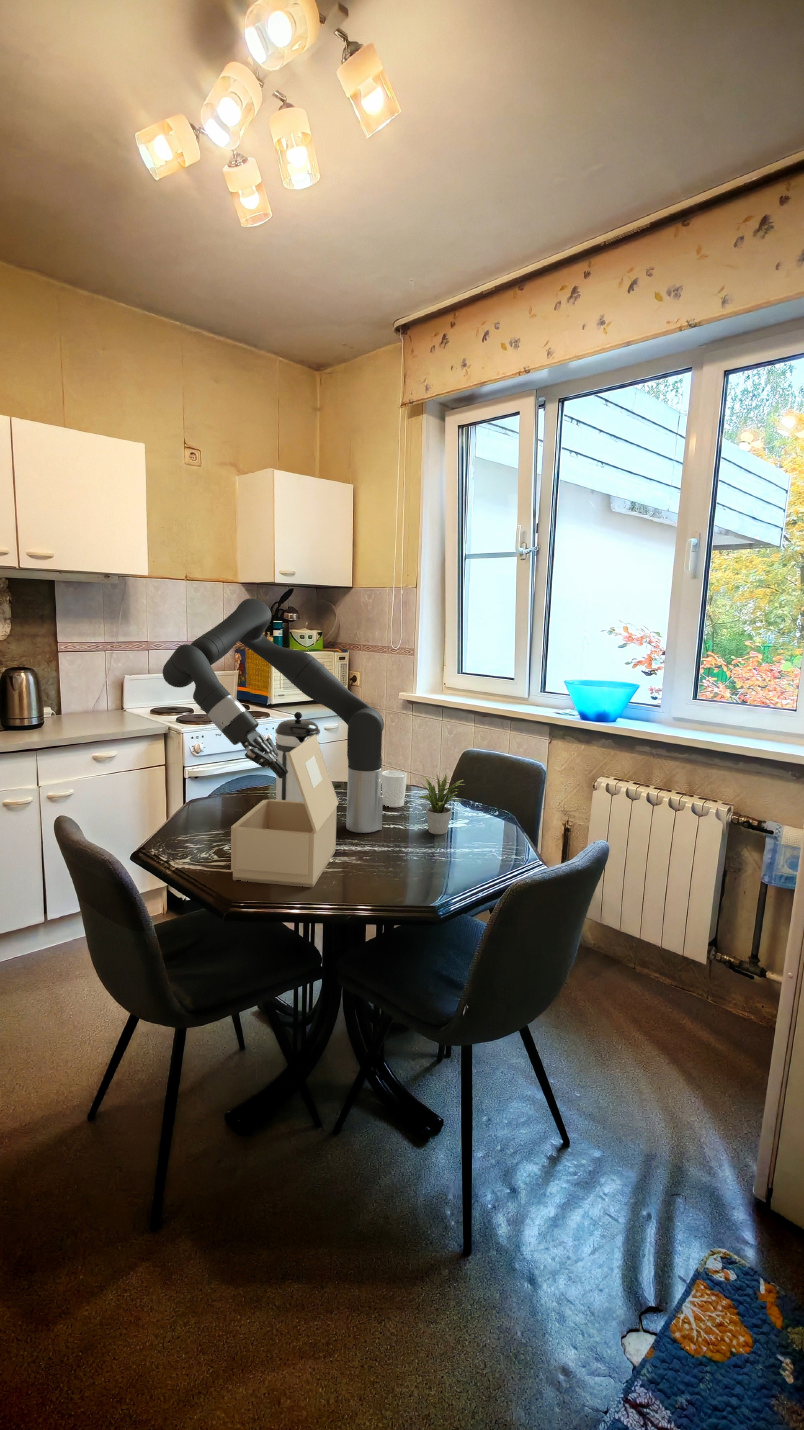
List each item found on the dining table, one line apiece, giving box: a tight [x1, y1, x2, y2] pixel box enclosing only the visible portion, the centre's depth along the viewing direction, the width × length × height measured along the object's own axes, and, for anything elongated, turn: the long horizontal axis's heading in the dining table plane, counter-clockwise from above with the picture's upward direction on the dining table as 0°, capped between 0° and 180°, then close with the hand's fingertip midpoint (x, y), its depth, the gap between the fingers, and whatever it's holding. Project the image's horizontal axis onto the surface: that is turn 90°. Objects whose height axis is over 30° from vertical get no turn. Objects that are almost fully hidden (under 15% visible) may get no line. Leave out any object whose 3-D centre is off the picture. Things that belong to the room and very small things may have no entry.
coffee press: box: [274, 711, 321, 802], centre depth 191 cm, size 17×16×30 cm
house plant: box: [417, 773, 466, 835], centre depth 178 cm, size 14×14×16 cm
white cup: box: [381, 769, 408, 808], centre depth 203 cm, size 8×8×10 cm
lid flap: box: [287, 734, 340, 833], centre depth 148 cm, size 18×22×1 cm
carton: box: [230, 798, 338, 888], centre depth 151 cm, size 19×23×12 cm
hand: (284, 775), depth 149 cm, fingers closed
